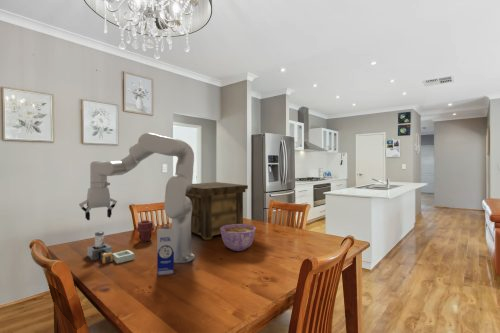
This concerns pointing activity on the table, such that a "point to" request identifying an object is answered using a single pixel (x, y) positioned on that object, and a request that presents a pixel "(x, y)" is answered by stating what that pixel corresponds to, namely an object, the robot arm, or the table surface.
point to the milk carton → (165, 251)
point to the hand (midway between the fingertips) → (98, 218)
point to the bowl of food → (237, 236)
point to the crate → (215, 207)
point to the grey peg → (99, 240)
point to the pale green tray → (123, 256)
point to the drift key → (105, 257)
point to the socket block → (97, 251)
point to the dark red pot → (145, 230)
